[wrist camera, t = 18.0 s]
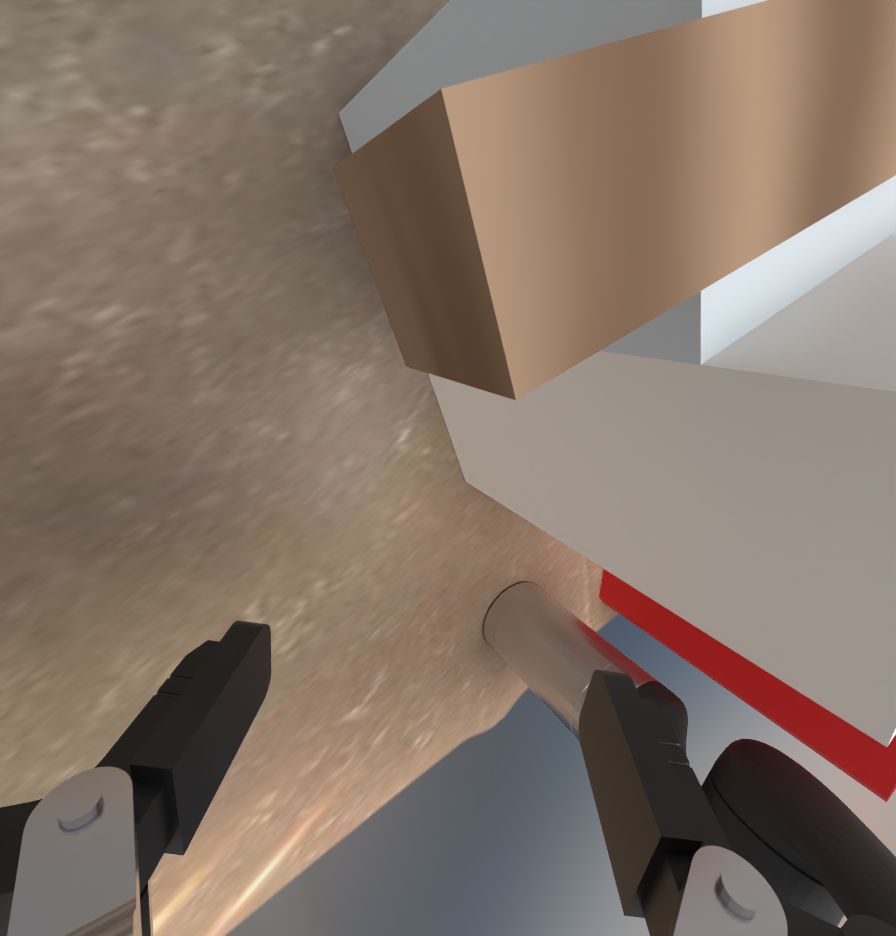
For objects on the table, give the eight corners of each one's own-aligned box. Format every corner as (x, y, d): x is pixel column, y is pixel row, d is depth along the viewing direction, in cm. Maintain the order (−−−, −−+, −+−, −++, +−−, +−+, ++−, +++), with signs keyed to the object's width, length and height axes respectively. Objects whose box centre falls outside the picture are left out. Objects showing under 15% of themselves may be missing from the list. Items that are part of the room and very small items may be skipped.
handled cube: (943, -59, 16) (1283, -212, 11) (902, 140, 19) (1154, 89, 14) (308, 101, 8) (548, -214, 3) (420, 404, 11) (626, 494, 6)
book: (627, 425, 54) (1035, 543, 29) (666, 416, 58) (1058, 514, 33) (597, 604, 64) (881, 809, 39) (633, 587, 68) (913, 763, 43)
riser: (524, 63, 33) (1681, -668, 8) (579, 408, 49) (1032, 536, 23) (338, 113, 28) (1931, -1508, 3) (465, 481, 44) (886, 747, 18)
